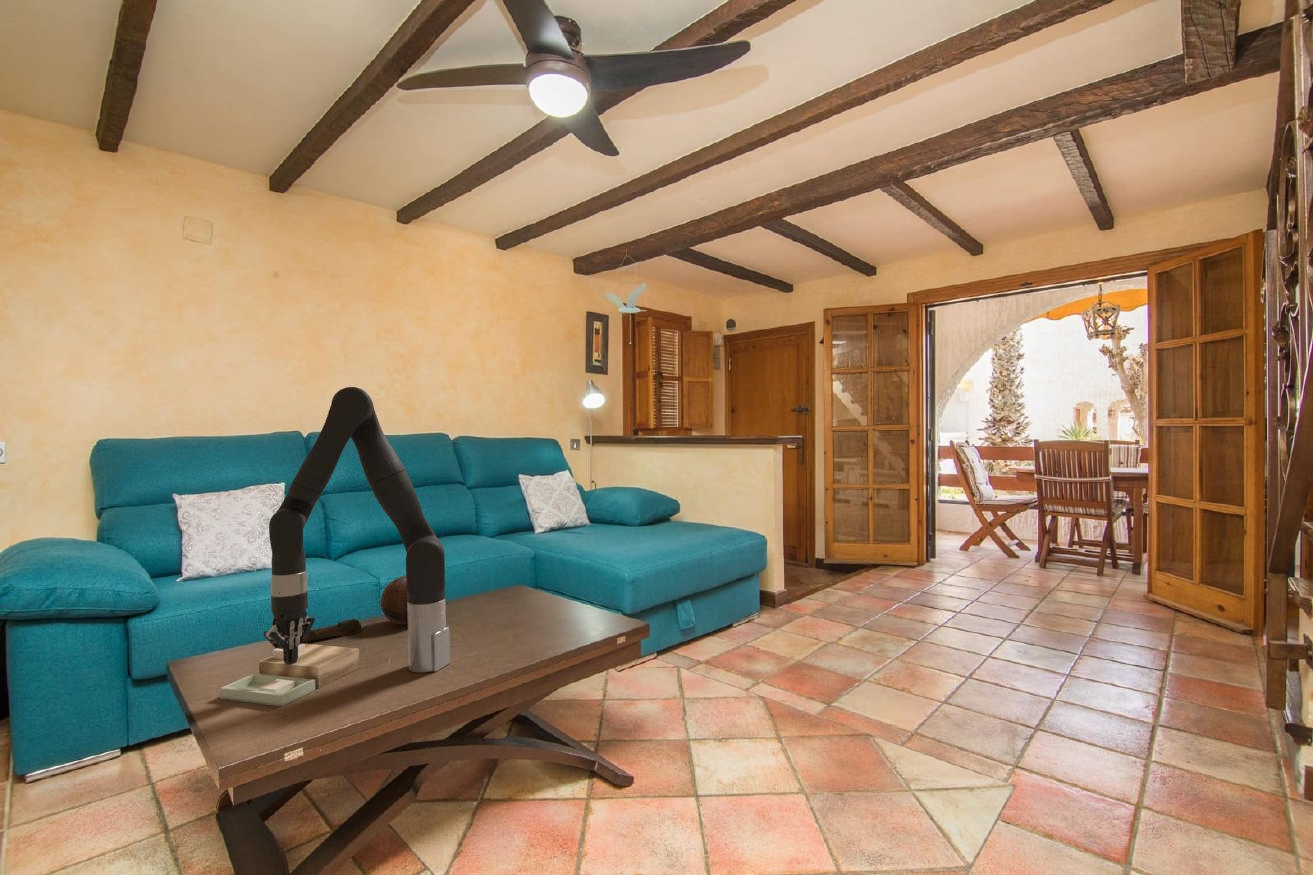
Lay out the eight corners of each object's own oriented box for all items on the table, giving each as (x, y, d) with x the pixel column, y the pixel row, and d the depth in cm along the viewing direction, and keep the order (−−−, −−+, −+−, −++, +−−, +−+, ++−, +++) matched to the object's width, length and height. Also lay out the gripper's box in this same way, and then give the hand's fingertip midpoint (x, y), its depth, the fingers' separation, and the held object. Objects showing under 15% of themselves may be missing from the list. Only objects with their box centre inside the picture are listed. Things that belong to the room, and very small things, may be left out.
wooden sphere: (440, 622, 194) (439, 575, 194) (394, 634, 183) (393, 584, 183) (417, 613, 204) (416, 569, 204) (372, 624, 193) (371, 577, 193)
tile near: (275, 689, 138) (276, 698, 138) (294, 681, 143) (294, 689, 143) (258, 687, 139) (258, 696, 139) (277, 679, 144) (277, 687, 144)
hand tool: (290, 649, 173) (290, 632, 173) (288, 645, 176) (288, 629, 176) (362, 635, 184) (362, 620, 184) (360, 631, 187) (360, 616, 187)
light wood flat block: (359, 667, 157) (358, 648, 157) (318, 688, 144) (318, 667, 144) (303, 662, 162) (302, 643, 161) (259, 681, 149) (258, 661, 149)
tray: (315, 690, 143) (315, 679, 143) (282, 706, 134) (282, 695, 134) (255, 683, 148) (255, 672, 148) (220, 698, 139) (220, 688, 139)
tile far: (305, 652, 154) (305, 644, 154) (288, 659, 150) (288, 651, 150) (289, 651, 156) (289, 643, 156) (272, 658, 151) (272, 650, 151)
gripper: (277, 599, 138) (279, 675, 138) (324, 585, 150) (325, 654, 150) (252, 597, 140) (253, 672, 140) (299, 583, 152) (301, 652, 152)
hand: (291, 663), depth 145 cm, fingers closed
